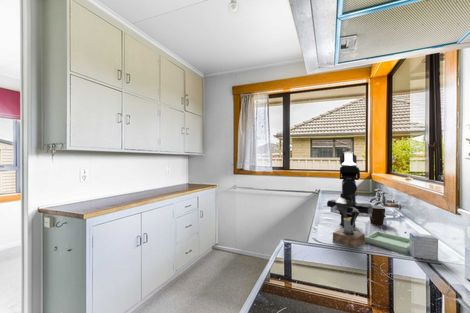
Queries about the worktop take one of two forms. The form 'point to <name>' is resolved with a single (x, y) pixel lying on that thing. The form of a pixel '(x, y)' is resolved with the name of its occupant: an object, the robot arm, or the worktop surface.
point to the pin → (348, 226)
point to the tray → (388, 241)
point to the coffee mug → (377, 215)
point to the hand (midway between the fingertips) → (348, 224)
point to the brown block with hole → (348, 238)
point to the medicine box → (423, 246)
